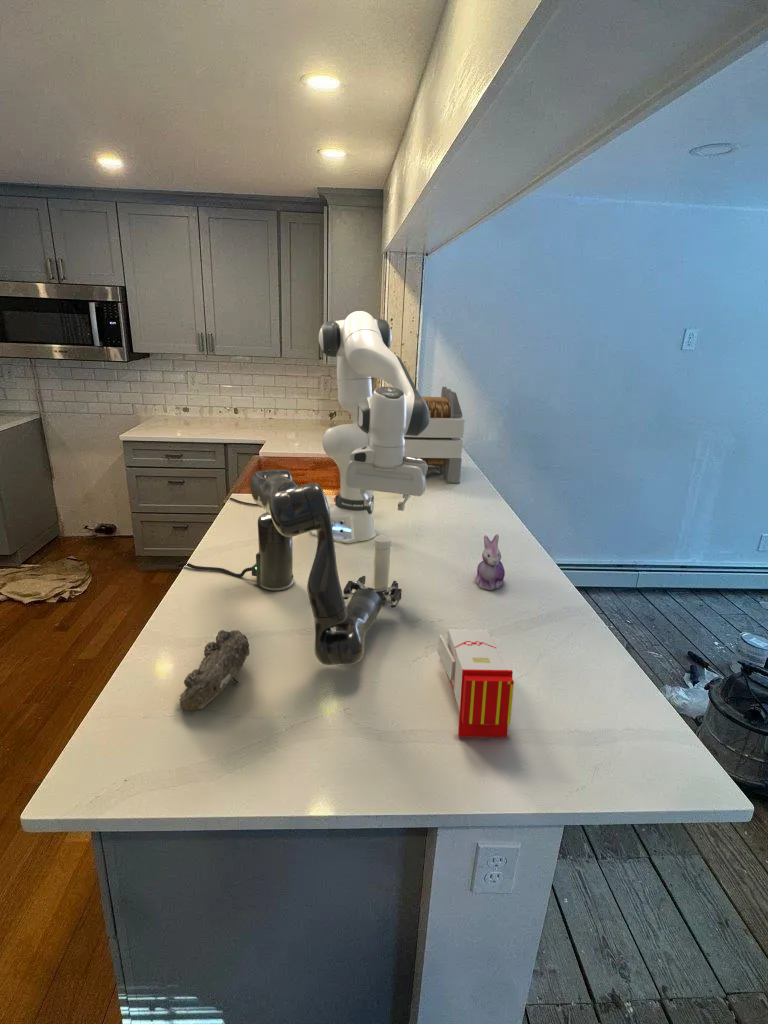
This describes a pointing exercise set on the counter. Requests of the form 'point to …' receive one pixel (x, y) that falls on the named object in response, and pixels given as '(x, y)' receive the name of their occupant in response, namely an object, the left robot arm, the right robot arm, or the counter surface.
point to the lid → (382, 542)
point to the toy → (478, 682)
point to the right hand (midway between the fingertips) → (384, 507)
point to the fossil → (215, 669)
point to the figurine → (490, 565)
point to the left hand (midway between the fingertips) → (379, 581)
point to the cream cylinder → (381, 568)
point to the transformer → (440, 436)
